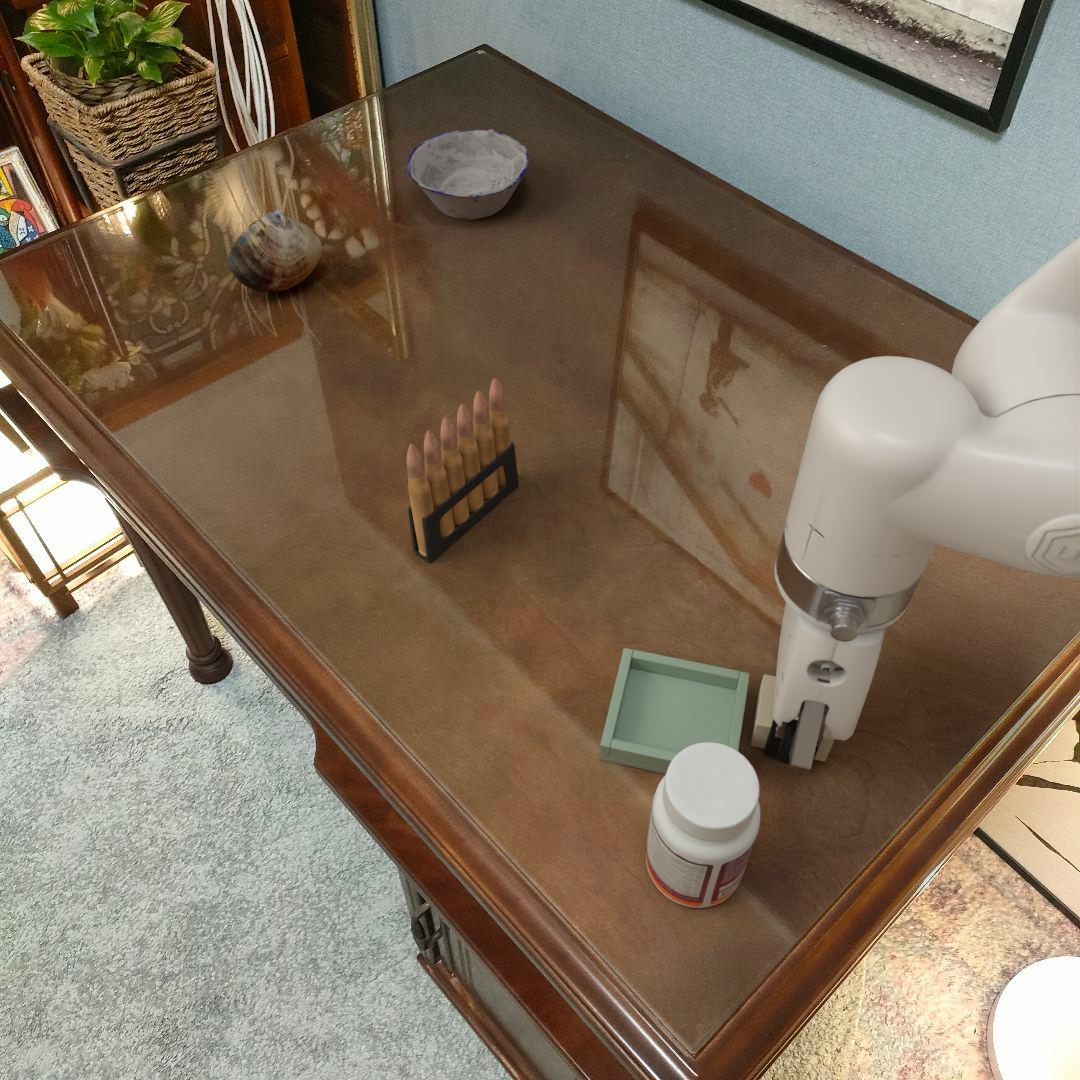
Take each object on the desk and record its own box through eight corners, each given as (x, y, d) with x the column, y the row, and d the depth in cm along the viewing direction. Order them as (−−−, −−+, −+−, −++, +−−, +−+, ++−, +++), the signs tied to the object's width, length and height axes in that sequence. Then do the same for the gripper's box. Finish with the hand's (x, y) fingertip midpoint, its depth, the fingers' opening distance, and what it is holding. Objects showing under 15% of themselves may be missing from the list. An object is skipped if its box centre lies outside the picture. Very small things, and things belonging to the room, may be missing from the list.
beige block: (829, 711, 71) (838, 688, 69) (825, 762, 68) (834, 740, 66) (757, 696, 72) (763, 673, 69) (750, 746, 69) (756, 724, 67)
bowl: (421, 165, 116) (416, 125, 112) (534, 167, 115) (533, 127, 111) (403, 232, 108) (398, 191, 104) (524, 235, 107) (523, 194, 103)
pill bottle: (733, 813, 66) (758, 728, 58) (750, 908, 62) (780, 833, 54) (638, 819, 66) (649, 735, 57) (650, 914, 62) (664, 840, 54)
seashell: (312, 255, 106) (297, 185, 99) (338, 282, 103) (324, 212, 96) (228, 289, 102) (206, 219, 96) (252, 318, 99) (231, 248, 93)
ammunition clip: (429, 564, 80) (411, 458, 70) (413, 552, 81) (392, 446, 71) (519, 485, 85) (513, 376, 76) (502, 474, 86) (494, 365, 76)
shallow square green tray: (746, 688, 72) (750, 672, 71) (730, 789, 67) (735, 774, 66) (622, 662, 74) (623, 647, 72) (599, 759, 69) (599, 745, 67)
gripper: (914, 707, 50) (838, 854, 64) (922, 464, 60) (854, 637, 74) (760, 676, 51) (719, 826, 65) (793, 444, 61) (751, 617, 76)
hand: (791, 724), depth 70 cm, fingers closed on beige block, 4 cm apart
